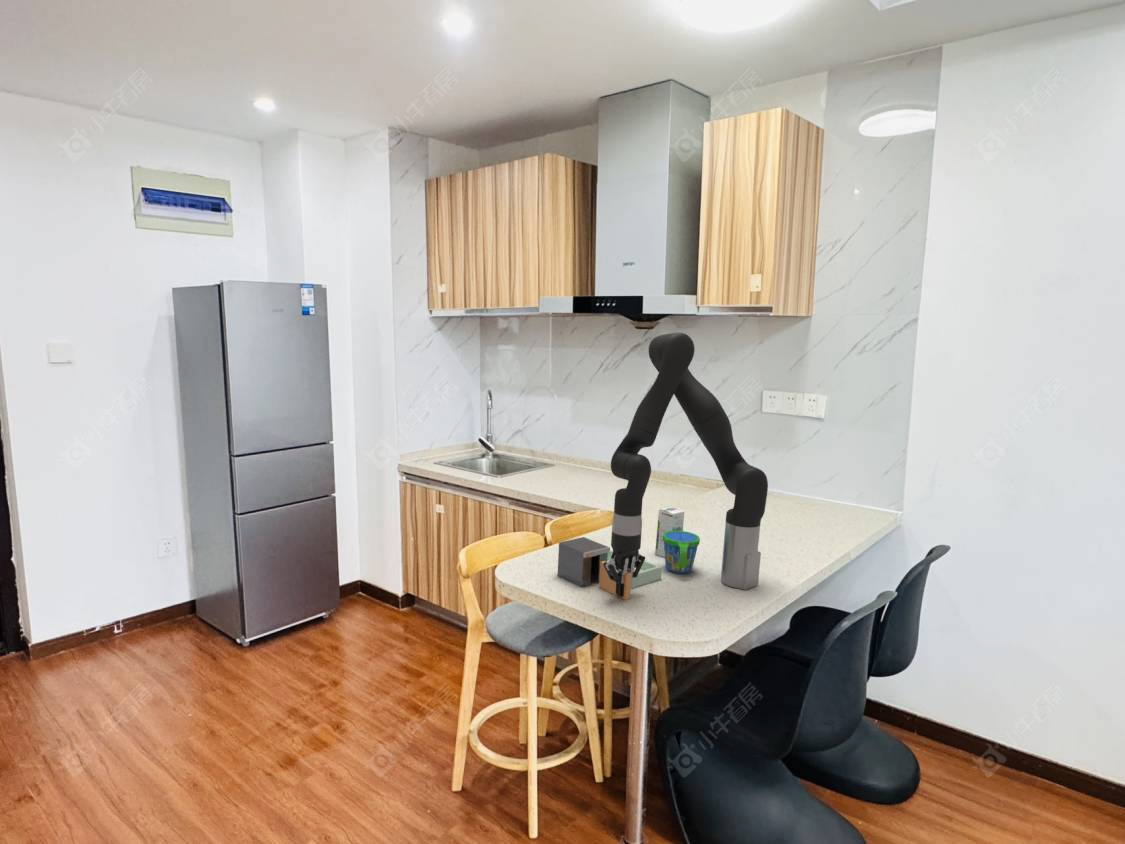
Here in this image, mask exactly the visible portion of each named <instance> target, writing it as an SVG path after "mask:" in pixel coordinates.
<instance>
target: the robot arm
mask: <svg viewBox="0 0 1125 844" xmlns="http://www.w3.org/2000/svg"><path fill="white" fill-rule="evenodd" d="M648 356H649V359H650V362H651V364H653V365H652V366H653V367H654V368H655V370H657V372H658V374H657V376H656V378H655V380H654V382H653V384H652V386H651V387H650V389H649V390H648V392H647V393H646V394H645V395H644V397H643V398H642V400H641V402H640V403H639V405H638V406H637V408H636V410H635V413H634V415H633V418H632V420H631V423H630V426H629V429H628V432H627V433H626V435H625V436H624V438H623V439H622V441H621V442H620V444H619V445H618V447H617V448H616V449H615V451H614V453H613V454H612V456H611V460H610V471H611V473H612V475H614V476H615V477H616V478H619V479H622V480H624V481H625V480H626V481H627V485H626V487H624V488H620V489H617V490H616V492H615V494H614V507H613V516H612V522H611V523H612V524H611V541H610V548H612V549H611V550H613V553H612V556H611V560H610V561H609V562H608V563H607V562H605V563H604V568H605V570H606V572H607V574H608V576H609V578H610V579H611V580H613V581H615V582H616V594H617V595H618V596H617V597H619V596H620V597H619V598H621V597H623V596H624V582H625V575H626V574H627V571H630V572H632V575H631V581H632V578H634V577H635V578H636V577H637V575H638V573H639V571H640V569H641V567H642V565H643V563H644V560H646V556H644V555H642V554H640V551H639V550H640V549H641V545H642V532H643V531H642V530H643V518H642V517H643V516H642V515H643V512H642V511H643V499H644V496H645V493H646V489H647V487H648V485H649V482H650V481H649V480H650V478H651V474H652V465H651V462H650V460H649V458H647V456H645V455H643V454H641V453H640V454H639V452H640V451H641V449H644V448H650V447H652V446H654V444H655V441H656V438H657V436H658V433H659V430H660V427H661V424H662V422H663V418H664V416H665V415H666V412H667V409H668V407H669V405H670V403H671V400H672V399H673V397H674V396H675V398H676V400H677V402H678V404H679V405H680V407H681V409H682V410H683V412H684V413H685V415H686V417H687V419H688V421H689V423H690V424H691V426H692V428H693V429H694V432H695V433H696V434H697V437H698V438H699V439H700V441H701V442H702V444H703V446H704V447H705V449H706V450H707V452H708V453H709V455H710V456H711V458H712V460H713V461H714V464H715V466H716V468H717V470H718V472H719V475H720V477H721V479H722V482H723V484H724V486H725V488H726V489H727V490H728V492H729V493H730V494H733V496H734V503H733V507H732V508H729V509H728V510H727V511H726V513H725V523H724V534H723V535H724V538H723V547H722V549H723V550H722V559H721V572H720V582H721V584H723V585H725V586H727V587H731V588H734V589H741V590H744V591H746V590H749V589H752V588H755V587H757V586H758V585H759V579H760V567H761V558H762V557H761V555H762V553H761V551H759V542H760V531H761V522H762V519H763V518H764V514H765V512H766V505H767V497H768V489H769V486H768V485H769V482H768V481H769V480H768V477H767V475H766V473H765V472H764V471H763V470H761V469H760V468H758V467H756V466H753V465H751V464H749V463H748V462H747V461H746V460H745V458H744V457H743V456H742V454H741V452H740V451H739V449H738V447H737V446H736V444H735V441H734V440H735V439H734V437H733V429H732V423H731V421H730V419H729V416H728V415H727V413H726V412H725V409H724V408H723V406H722V405H721V404H722V403H720V401H719V400H718V398H717V397H716V396H715V395H714V394H713V393H712V392H711V391H710V390H709V389H707V388H706V387H705V386H704V385H703V384H702V383H701V382H700V381H698V379H697V378H696V377H694V375H693V373H692V372H691V371H690V369H689V367H690V364H691V363H692V361H693V358H694V356H695V344H694V341H693V339H692V338H691V337H690V336H689V335H688V334H686V333H684V332H671V333H666V334H661V335H657V336H655V337H654V338H653V339H652V340H651V341H650V342H649V345H648ZM634 568H636V569H635V571H634ZM620 575H621V578H620V577H619V576H620Z"/></svg>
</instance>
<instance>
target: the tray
mask: <svg viewBox="0 0 1125 844" xmlns="http://www.w3.org/2000/svg"><path fill="white" fill-rule="evenodd" d="M612 553H613V549H610V552H608V557H607V562H609V561H610V560H611V556H612ZM635 569H636V568H634V571H635ZM662 570H663V567H662V566H661V565H658V564H656V563H653V562H651V561H647V560H646V559H645V560H644V563H643V565H642V567H641V569H640V571H639V573H638V575H637V577H636V578H635V577H634V578H632V581H631V589H634V588H638V587H640V586H644V585H647V584H650V583H652V582H657V581H658V580H662Z"/></svg>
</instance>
